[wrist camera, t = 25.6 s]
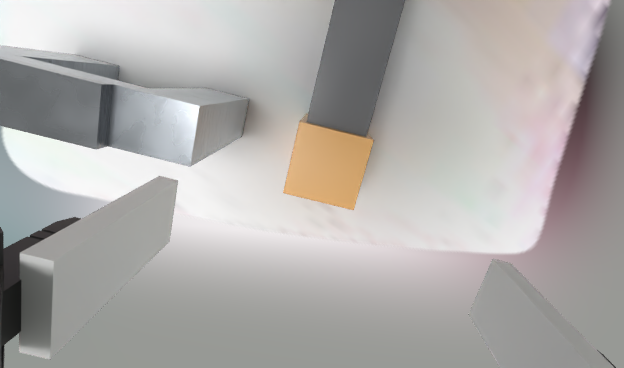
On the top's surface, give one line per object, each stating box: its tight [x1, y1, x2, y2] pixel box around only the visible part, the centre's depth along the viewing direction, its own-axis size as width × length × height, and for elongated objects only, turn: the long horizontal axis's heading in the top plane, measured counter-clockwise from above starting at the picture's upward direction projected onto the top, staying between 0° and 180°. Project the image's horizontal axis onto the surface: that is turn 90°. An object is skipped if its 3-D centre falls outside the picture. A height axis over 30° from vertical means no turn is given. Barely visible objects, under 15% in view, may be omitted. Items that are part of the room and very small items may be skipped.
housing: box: [0, 45, 249, 166], centre depth 29 cm, size 18×4×16 cm, turn 76°
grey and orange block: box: [283, 0, 405, 210], centre depth 31 cm, size 21×6×9 cm, turn 166°
